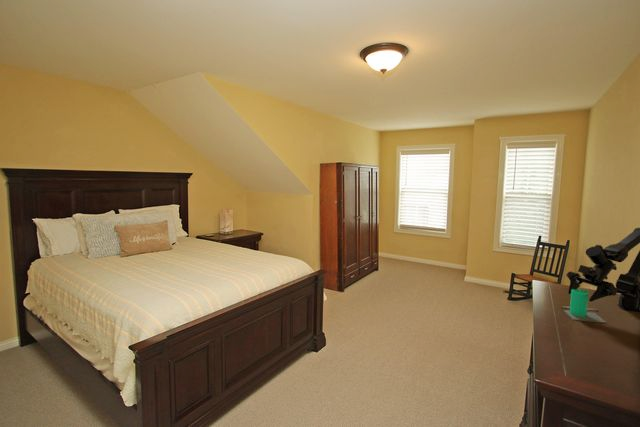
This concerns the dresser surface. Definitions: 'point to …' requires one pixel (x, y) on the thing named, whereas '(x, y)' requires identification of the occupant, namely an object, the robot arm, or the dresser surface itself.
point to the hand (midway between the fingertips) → (579, 297)
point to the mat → (585, 317)
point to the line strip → (587, 308)
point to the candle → (578, 302)
